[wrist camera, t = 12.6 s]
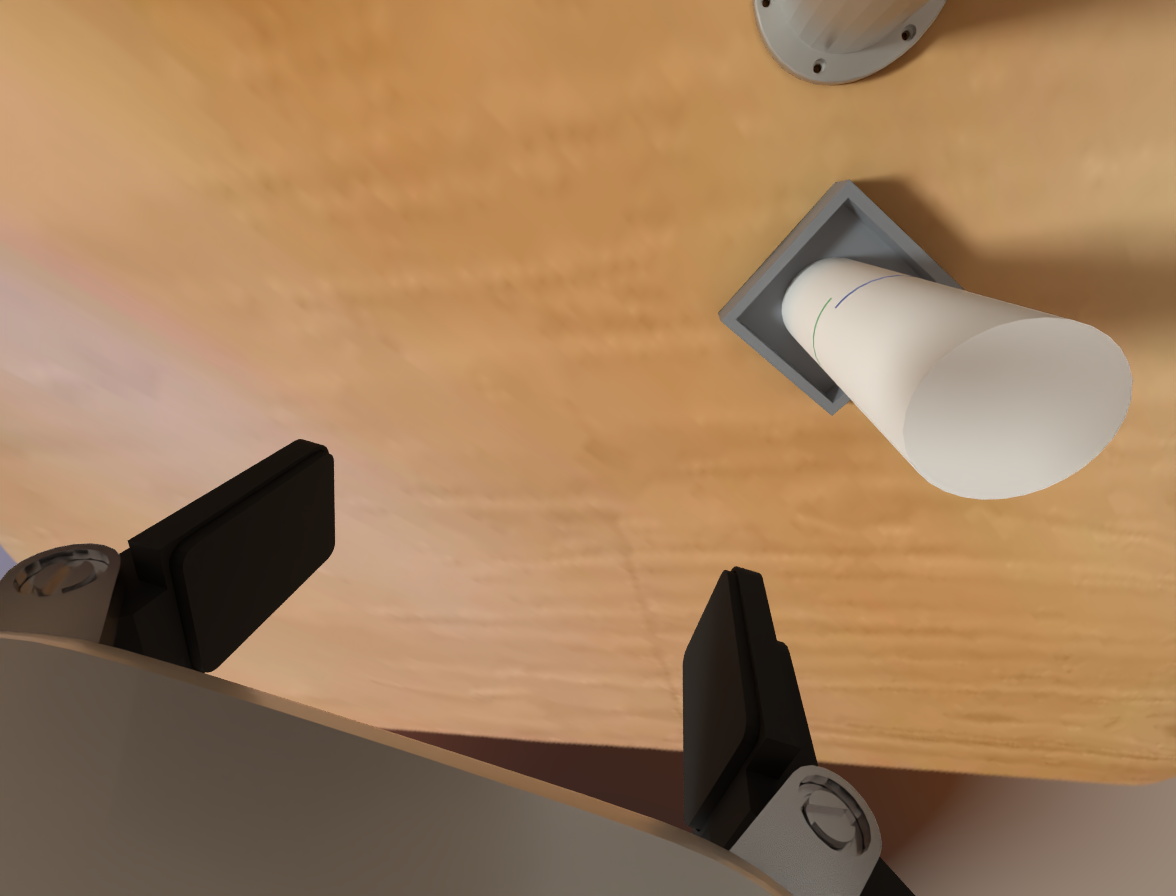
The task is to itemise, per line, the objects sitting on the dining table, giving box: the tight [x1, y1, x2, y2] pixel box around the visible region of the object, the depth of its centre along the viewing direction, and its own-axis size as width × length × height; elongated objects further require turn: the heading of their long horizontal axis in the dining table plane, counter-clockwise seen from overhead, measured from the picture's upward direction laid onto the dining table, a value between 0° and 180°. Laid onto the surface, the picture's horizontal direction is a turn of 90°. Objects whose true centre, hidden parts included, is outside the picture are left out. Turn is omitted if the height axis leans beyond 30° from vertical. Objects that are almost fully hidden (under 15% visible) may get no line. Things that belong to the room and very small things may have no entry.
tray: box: [718, 180, 964, 415], centre depth 40 cm, size 13×13×4 cm
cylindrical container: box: [782, 257, 1133, 499], centre depth 29 cm, size 7×7×25 cm
